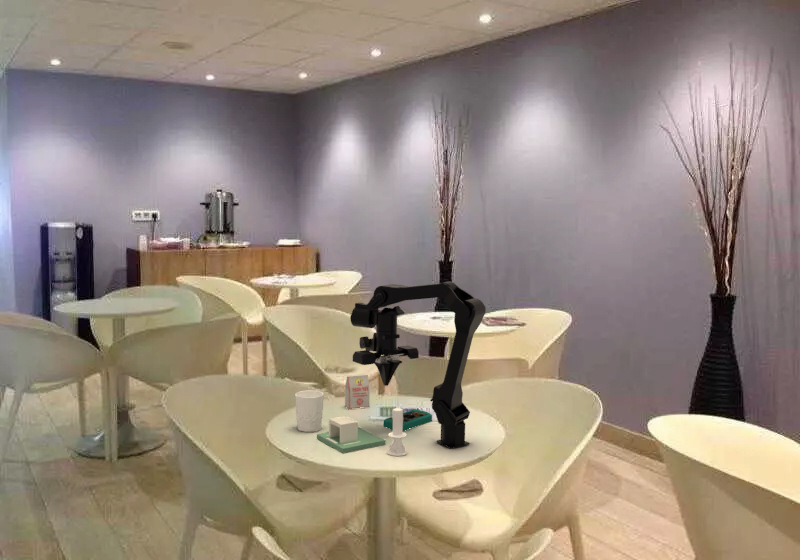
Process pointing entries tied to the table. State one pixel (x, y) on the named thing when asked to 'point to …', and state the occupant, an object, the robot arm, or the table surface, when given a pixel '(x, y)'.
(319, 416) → the white cup
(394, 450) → the candle
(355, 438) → the block
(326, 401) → the table surface
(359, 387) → the tea bag
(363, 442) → the header board
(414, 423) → the digital multimeter
